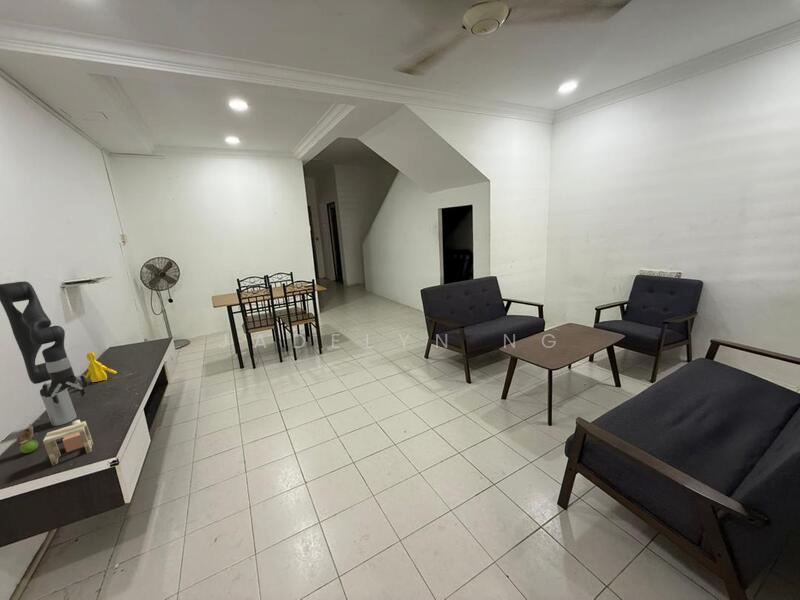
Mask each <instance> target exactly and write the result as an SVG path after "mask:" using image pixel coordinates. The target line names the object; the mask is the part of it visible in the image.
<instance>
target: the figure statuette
mask: <svg viewBox="0 0 800 600" xmlns="http://www.w3.org/2000/svg"><path fill="white" fill-rule="evenodd" d="M96 357H97V355H96V353H94V351H88V352H87V353H86V358H87V360H88V361H89V362H90V363H89V365H88V366H87V369H88V372H87V373H86V374H85V377H86V380H87V379H89V377H90V381H91V382H92V383H93V382H97V381H102V380H106V381H107V380H108V379H107V378H108V375H107V372H109V373H111V374H114V375H116V374H117V373H118V371H116V370H114V369H112V368H108V367H107V366H105V365H103V364H102V363H101V362H99V361H98V360H96Z"/></svg>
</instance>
